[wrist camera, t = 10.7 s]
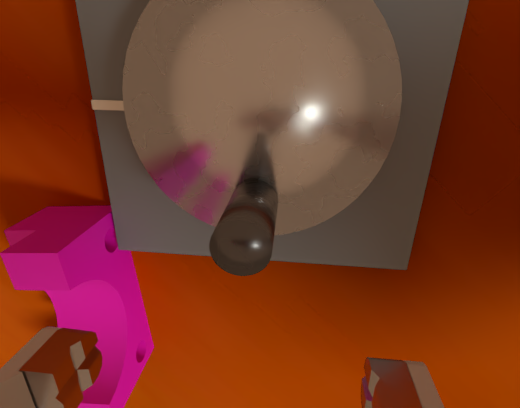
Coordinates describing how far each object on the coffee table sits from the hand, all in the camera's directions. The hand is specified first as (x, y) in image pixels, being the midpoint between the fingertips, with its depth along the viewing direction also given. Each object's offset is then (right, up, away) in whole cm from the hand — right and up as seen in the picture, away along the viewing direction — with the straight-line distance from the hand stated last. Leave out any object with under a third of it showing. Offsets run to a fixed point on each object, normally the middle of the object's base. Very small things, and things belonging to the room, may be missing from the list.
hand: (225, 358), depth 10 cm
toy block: (-13, -2, +20) cm, 24 cm away
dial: (+1, +10, +10) cm, 15 cm away
